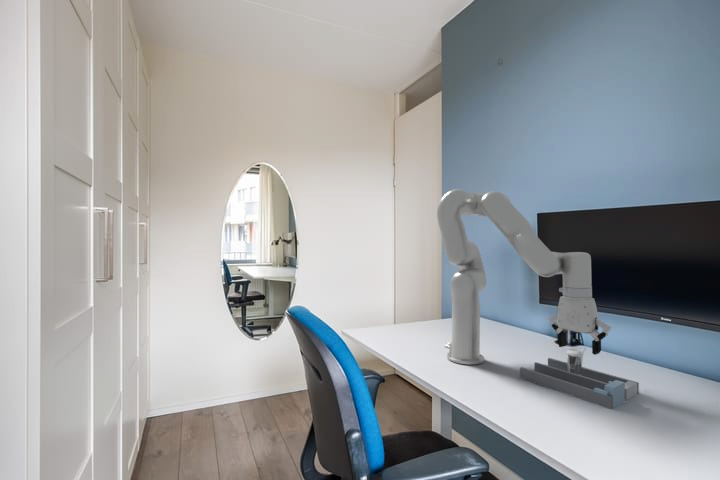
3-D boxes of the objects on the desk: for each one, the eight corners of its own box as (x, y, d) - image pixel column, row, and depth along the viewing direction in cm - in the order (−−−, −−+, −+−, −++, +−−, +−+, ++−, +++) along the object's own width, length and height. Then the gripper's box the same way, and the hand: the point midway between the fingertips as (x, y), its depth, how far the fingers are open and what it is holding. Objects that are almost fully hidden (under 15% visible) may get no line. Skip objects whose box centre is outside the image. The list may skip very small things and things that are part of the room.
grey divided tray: (519, 377, 113) (519, 361, 113) (549, 366, 122) (549, 351, 122) (611, 408, 92) (611, 389, 92) (638, 393, 102) (638, 375, 102)
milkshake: (588, 383, 108) (588, 349, 108) (568, 381, 109) (568, 348, 109) (582, 377, 113) (582, 345, 113) (563, 376, 114) (563, 344, 114)
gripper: (542, 291, 116) (544, 345, 116) (603, 297, 102) (604, 359, 101) (555, 289, 120) (556, 341, 120) (615, 294, 106) (616, 354, 106)
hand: (578, 349), depth 111 cm, fingers open, 9 cm apart
